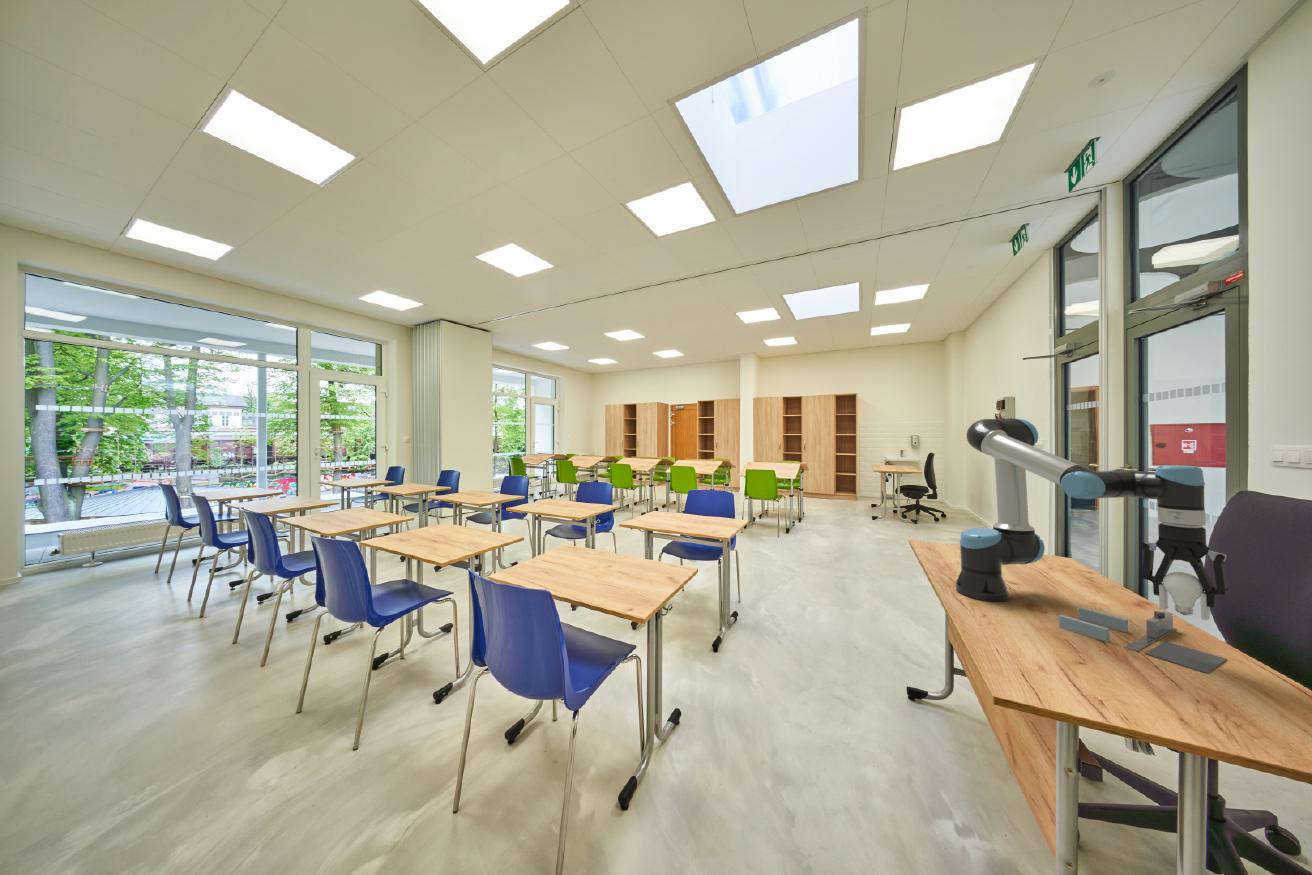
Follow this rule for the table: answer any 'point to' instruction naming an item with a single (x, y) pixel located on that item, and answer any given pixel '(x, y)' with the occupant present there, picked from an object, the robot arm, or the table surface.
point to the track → (1145, 641)
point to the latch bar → (1159, 624)
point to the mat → (1186, 657)
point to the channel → (1090, 628)
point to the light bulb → (1183, 590)
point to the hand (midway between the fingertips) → (1184, 613)
